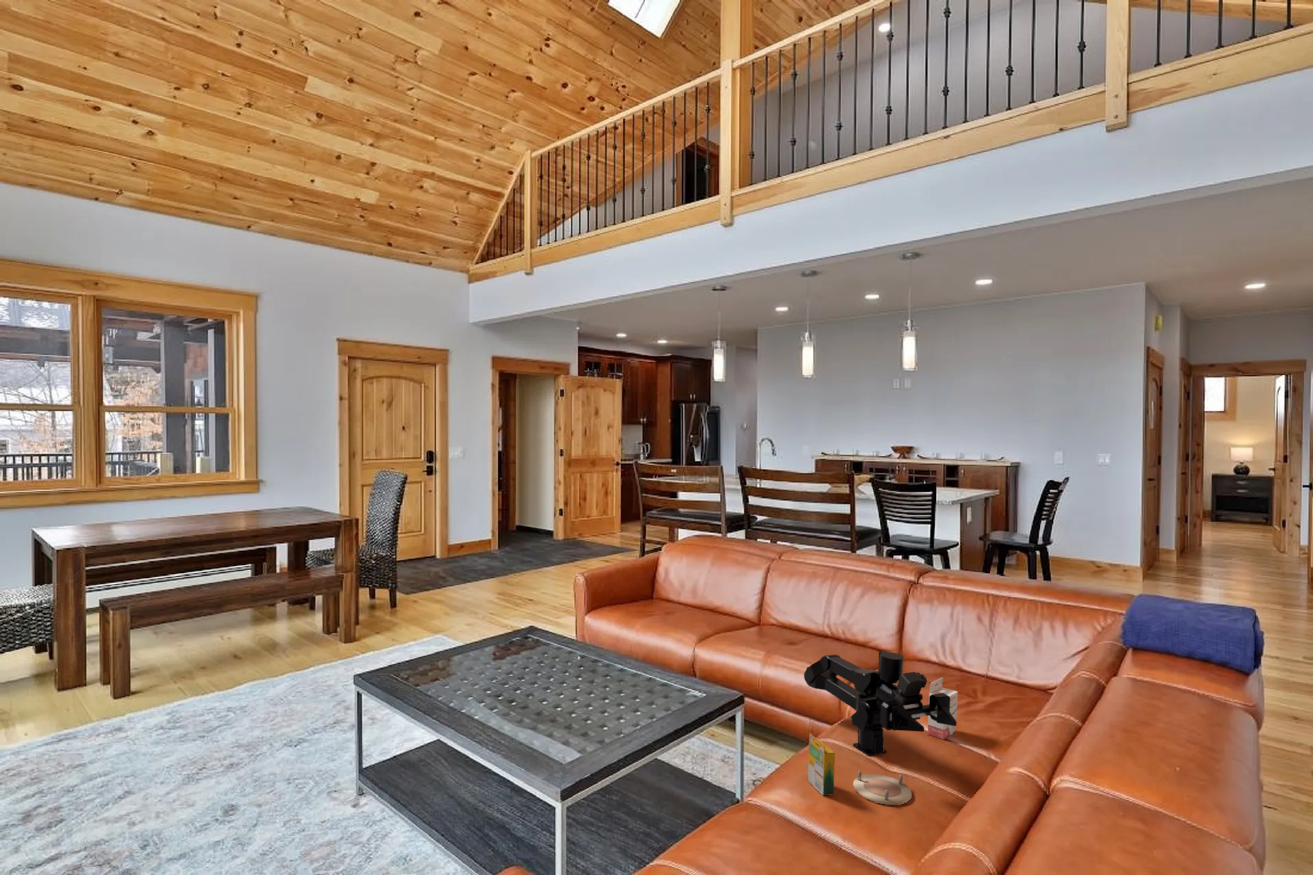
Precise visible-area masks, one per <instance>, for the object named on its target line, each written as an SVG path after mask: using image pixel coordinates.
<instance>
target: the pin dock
mask: <svg viewBox="0 0 1313 875" xmlns="http://www.w3.org/2000/svg"><path fill="white" fill-rule="evenodd" d="M903 778H904V777H903V774H899V775H898V779H897V778H893V777H892V776H891V777H890V776H888V775H883V774H878V773H877V774H872V773H871V774H870V773H869V774H863V775H862V771H861V770H858V771H857V777H855V779H853V783H852V787H853V786H854V788H855V790H856V791H857V792H858V793H859V794H861V795H862V796H863V797H865V798H867V799H870V800H871V801H874V802H877V803H882V804H885V805H884V806H887V805H898V804H902V803H906V802H908V801H909V800H910V799H911V800H912V794H913V793H912V790H911V788H910V787H909V786H908V785H907V784H906V783H904V782H903V780H904V779H903ZM854 788H853V789H854ZM855 790H854V791H855ZM911 800H910V801H911ZM910 801H909V802H910ZM909 802H908V803H909ZM877 803H876V804H877ZM886 804H887V805H886ZM906 804H907V803H906Z"/></svg>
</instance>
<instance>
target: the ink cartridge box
mask: <svg viewBox="0 0 1313 875" xmlns="http://www.w3.org/2000/svg"><path fill="white" fill-rule="evenodd" d="M943 681H944V677H943V676H942V677H940V678H939V679H936V680H934V681H932V682H931V683H930V686H929V693H928V698H929V697H930V696H931V695H932V694H939V693H944V694H946V695H948V696H949V697H950V713H951V715H952V716H953V717H954V719H955V720H956V721H957V715H958V696H959V692H958V690H957V691H956V690H953V689H950V688H946V687H943ZM955 729H956V730H957V725H956V726H951V725H946V724H940V723H937V721H934V720H932V719H931V717H930V715H929V716H927V735H929V736H931V737H935V738H938V739H941V740H943V741H944V740H945V739H947V738H948V737H950V736H952V735H953V732H954V731H955Z"/></svg>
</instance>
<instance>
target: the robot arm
mask: <svg viewBox="0 0 1313 875" xmlns="http://www.w3.org/2000/svg"><path fill="white" fill-rule="evenodd" d="M904 660H905V659H904V655H903V654H901V653H896V652H890V651H889V652H888V651H886V650H879V651H878V670H875V669H865V668H862V667H860V666H857V665H856V664H853V663H852V662H850V661H848V660H846V659H844V658H842V657H841V656H840V655H838V654H828V655H824V656H821V658H820V659H819V660H817V661H815V662H814V663H812V664H811V665H809V666H806V669H805V671H804V674H803V679H804V681H805V682H806V685H807V686H808V687H810V688H813V689H816V690H822V691H826V692H828V693H829V694H831V695H832V696H834V697H835V698H837V699H838V700H840V701H841V702H843V703H844V704H845V705H847V706H849V707H850V708H852V709H853V710H854V711H855V712H854V713H853V714H851V716H850V717H851V723H852V725H853V726H854V727H856V728H857V742H854V743H853V744H852V746H853V747H854V748H856V749H857V750H859V751H861V752H862V753H863V754H865V755H867V756H875V755H880V753H881V754H885V753H888V750H887V749H886V748H885V747H884V729H885V730H886V731H900V732H901V731H904V732H919V733H920V732H921V733H924V732H925V727H924V726H923V724H921V722H919V721H918V720H921V718H923V717H928V716H929V715H930V717H931V719H932V720H934V721H937V723H940V724H946V725H951V726H956V727H957V719H956V720H955V719H954V717H953V716H952V715H951V713H950V697H949V696H948V695H946V694H944V693H939V694H932V695H931V696H930V697H929V696H928V704H923V698H924V697H923V694H921V692H922V691H921V690H922V689H925V688H926V685H927V682H928V679H927V678H926V676H925V674H923V673H920V672H916V671H912V672H905V673H903V670H904ZM838 676H839V677H841V678H842V679H845V680H846V681H848V682H850V683H852V685H853V686H851V685H849V684H848V683H846V682H844V680H841V679H840V678H838Z"/></svg>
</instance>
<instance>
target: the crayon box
mask: <svg viewBox="0 0 1313 875" xmlns="http://www.w3.org/2000/svg"><path fill="white" fill-rule="evenodd" d="M808 741H809V742H808V763H807V764H808V765H807V782H808V783H809V784H810V785H812V787H814V788H815V789H816V791H818V792H819V793H820V794H821V796H823V795H825V796H827V795H826V794H833V795H834V792H835V791H834V787H835V786H834V785H835V765H836V764H835V763H836V762H835V761H836V752H835V751H834V750H832V749H831V748H830V747H828V746H827V745H826V744H825V743H824V742H822V741H821V740H820V739H818V738H817V737H815V736H814V735H813V734H812V733H809V740H808Z"/></svg>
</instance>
